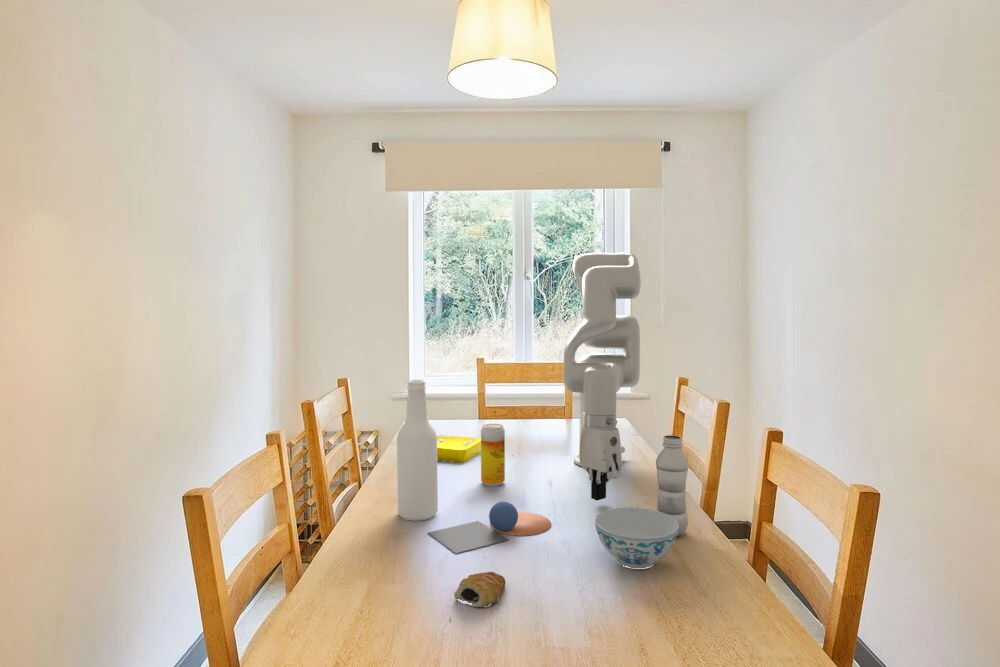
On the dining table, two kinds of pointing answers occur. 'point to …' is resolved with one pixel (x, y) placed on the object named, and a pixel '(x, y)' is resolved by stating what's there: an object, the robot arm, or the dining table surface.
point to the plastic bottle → (672, 481)
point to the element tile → (457, 448)
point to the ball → (503, 516)
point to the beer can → (492, 454)
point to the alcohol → (417, 459)
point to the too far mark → (467, 537)
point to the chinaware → (636, 535)
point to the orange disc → (528, 525)
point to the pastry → (481, 589)
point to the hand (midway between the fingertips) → (598, 498)
